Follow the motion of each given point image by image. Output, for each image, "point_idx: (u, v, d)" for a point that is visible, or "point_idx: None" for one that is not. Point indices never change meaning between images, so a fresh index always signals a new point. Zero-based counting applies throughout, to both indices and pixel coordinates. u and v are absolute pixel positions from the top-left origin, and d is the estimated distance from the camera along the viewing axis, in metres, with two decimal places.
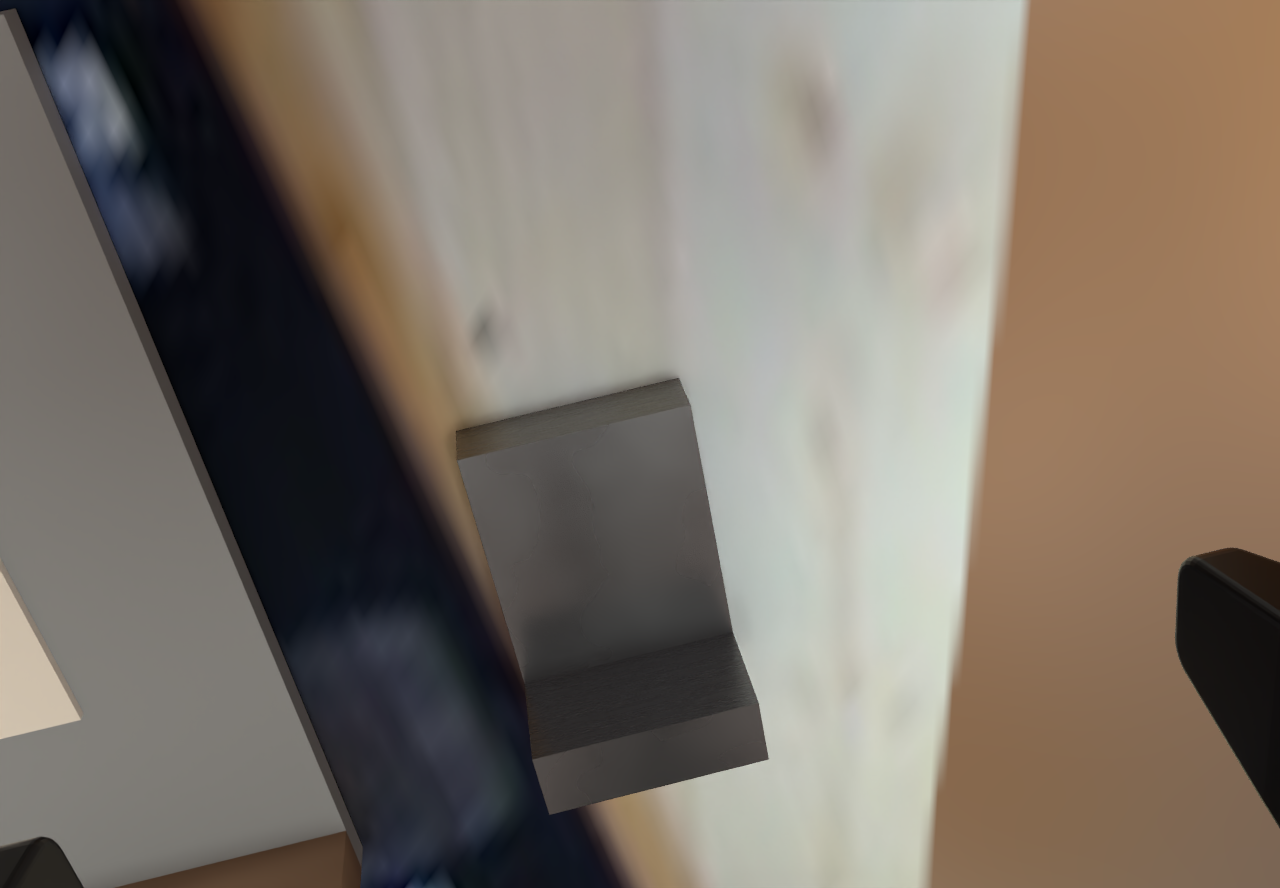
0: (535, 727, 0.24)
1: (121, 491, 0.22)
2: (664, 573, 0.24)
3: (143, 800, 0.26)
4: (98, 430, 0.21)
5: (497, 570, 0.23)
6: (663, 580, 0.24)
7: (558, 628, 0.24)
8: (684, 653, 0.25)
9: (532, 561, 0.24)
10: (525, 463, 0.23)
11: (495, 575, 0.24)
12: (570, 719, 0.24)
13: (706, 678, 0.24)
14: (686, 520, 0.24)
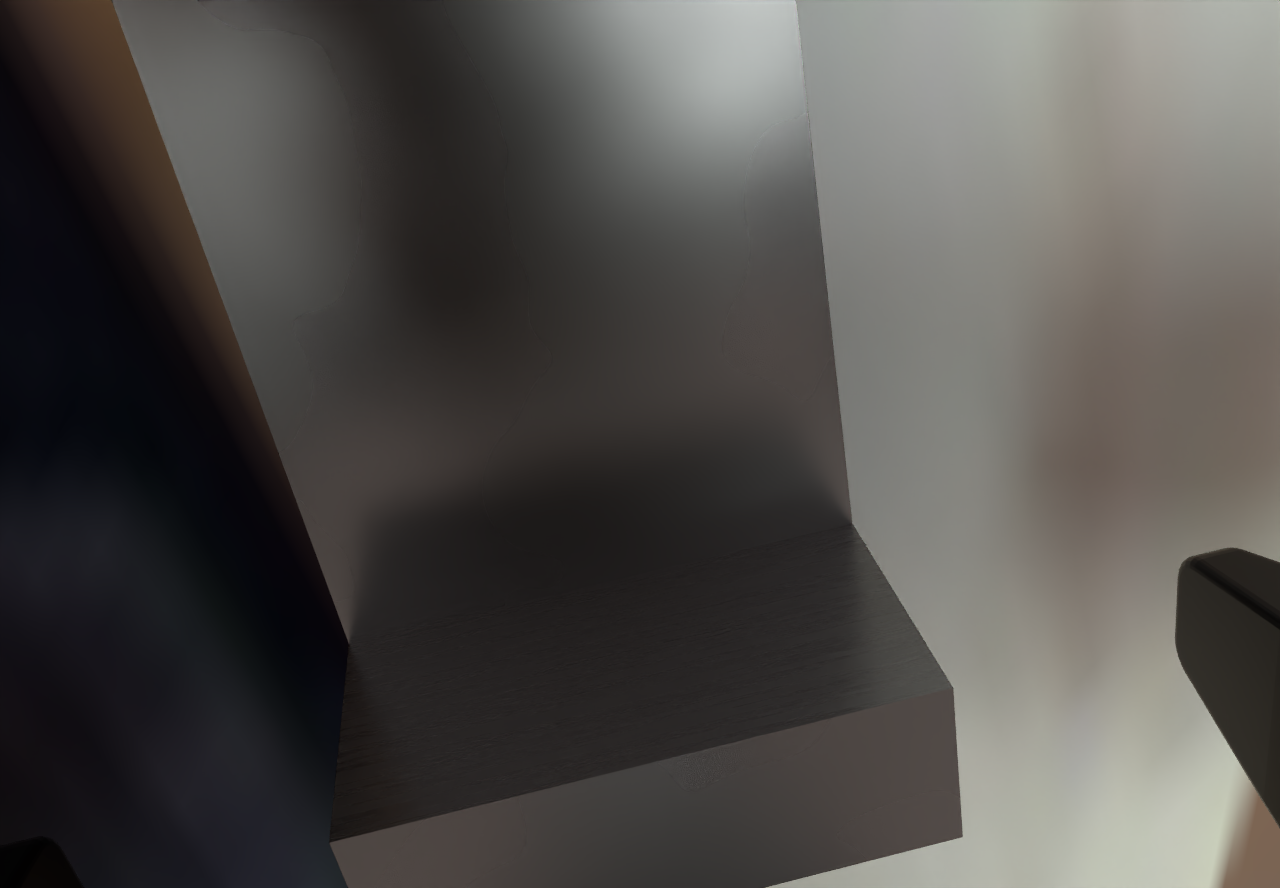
0: (354, 752, 0.09)
1: None
2: (692, 360, 0.10)
3: None
4: None
5: (253, 333, 0.09)
6: (690, 380, 0.10)
7: (426, 503, 0.10)
8: (738, 571, 0.10)
9: (347, 310, 0.09)
10: None
11: (249, 349, 0.09)
12: (446, 731, 0.09)
13: (800, 629, 0.09)
14: (753, 210, 0.09)
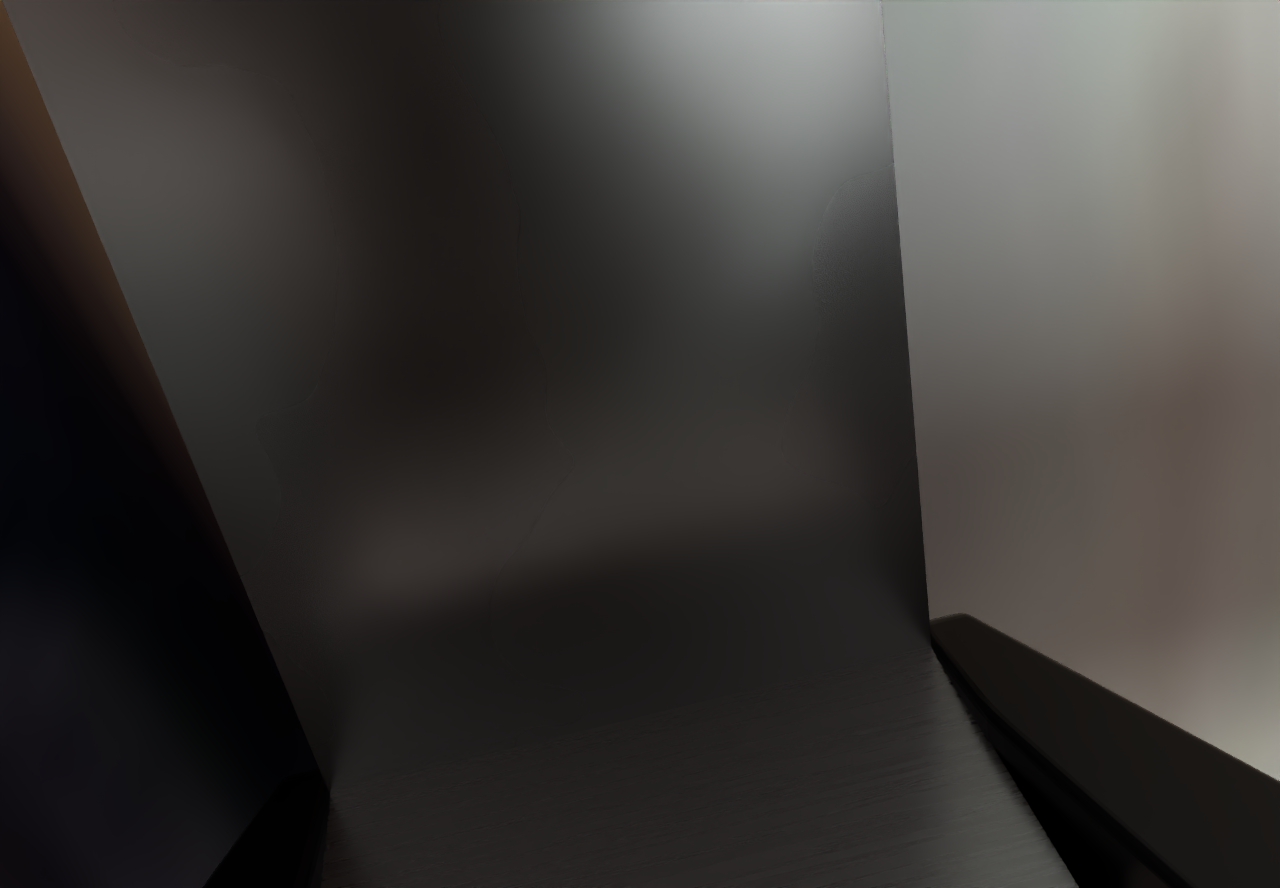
0: None
1: None
2: (745, 460, 0.08)
3: None
4: None
5: (205, 437, 0.07)
6: (742, 485, 0.08)
7: (421, 631, 0.08)
8: (797, 707, 0.08)
9: (322, 409, 0.07)
10: (267, 23, 0.06)
11: (203, 455, 0.07)
12: None
13: (878, 793, 0.08)
14: (823, 282, 0.07)
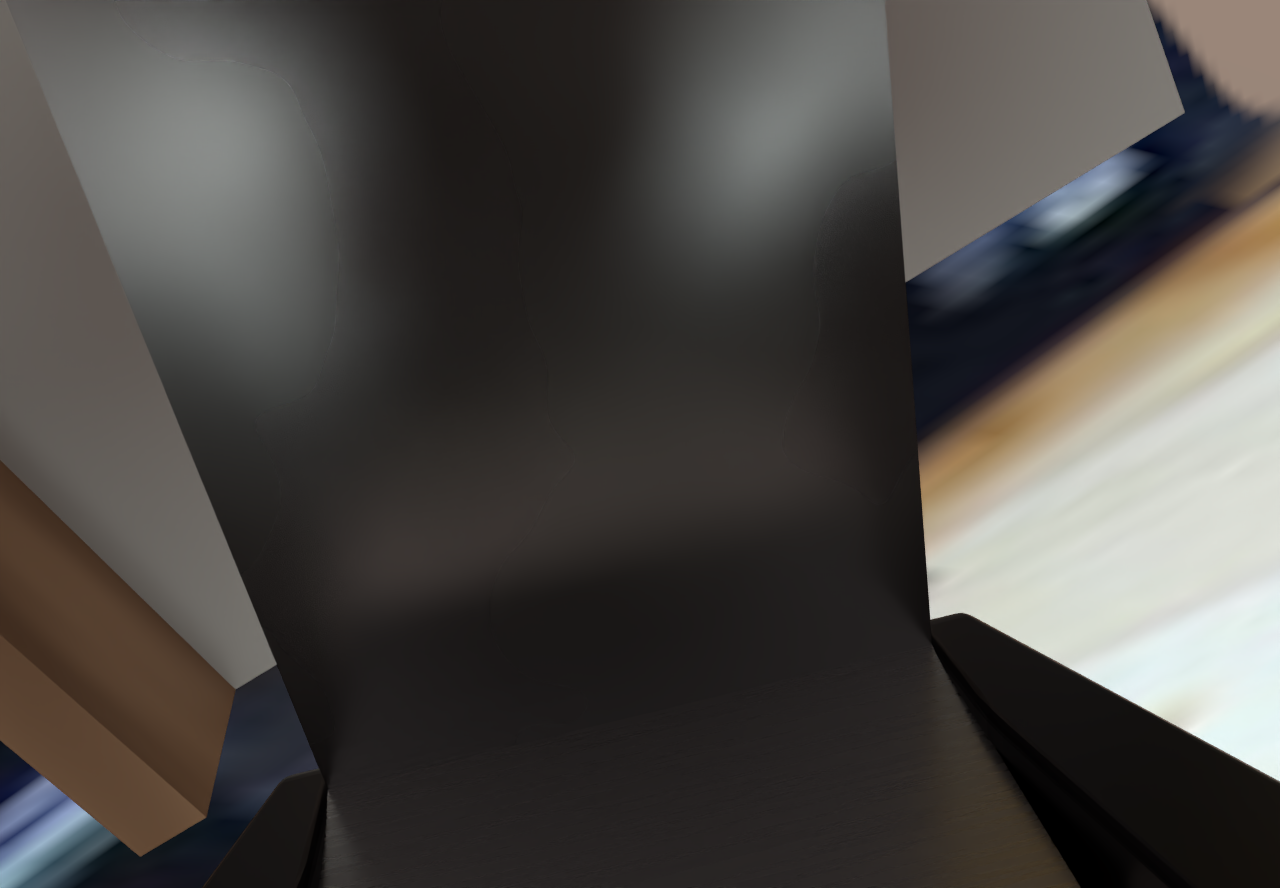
0: None
1: None
2: (745, 459, 0.08)
3: (192, 459, 0.18)
4: None
5: (205, 433, 0.07)
6: (743, 483, 0.08)
7: (421, 628, 0.08)
8: (798, 706, 0.08)
9: (321, 404, 0.07)
10: (268, 18, 0.06)
11: (202, 450, 0.07)
12: None
13: (879, 791, 0.08)
14: (825, 280, 0.07)
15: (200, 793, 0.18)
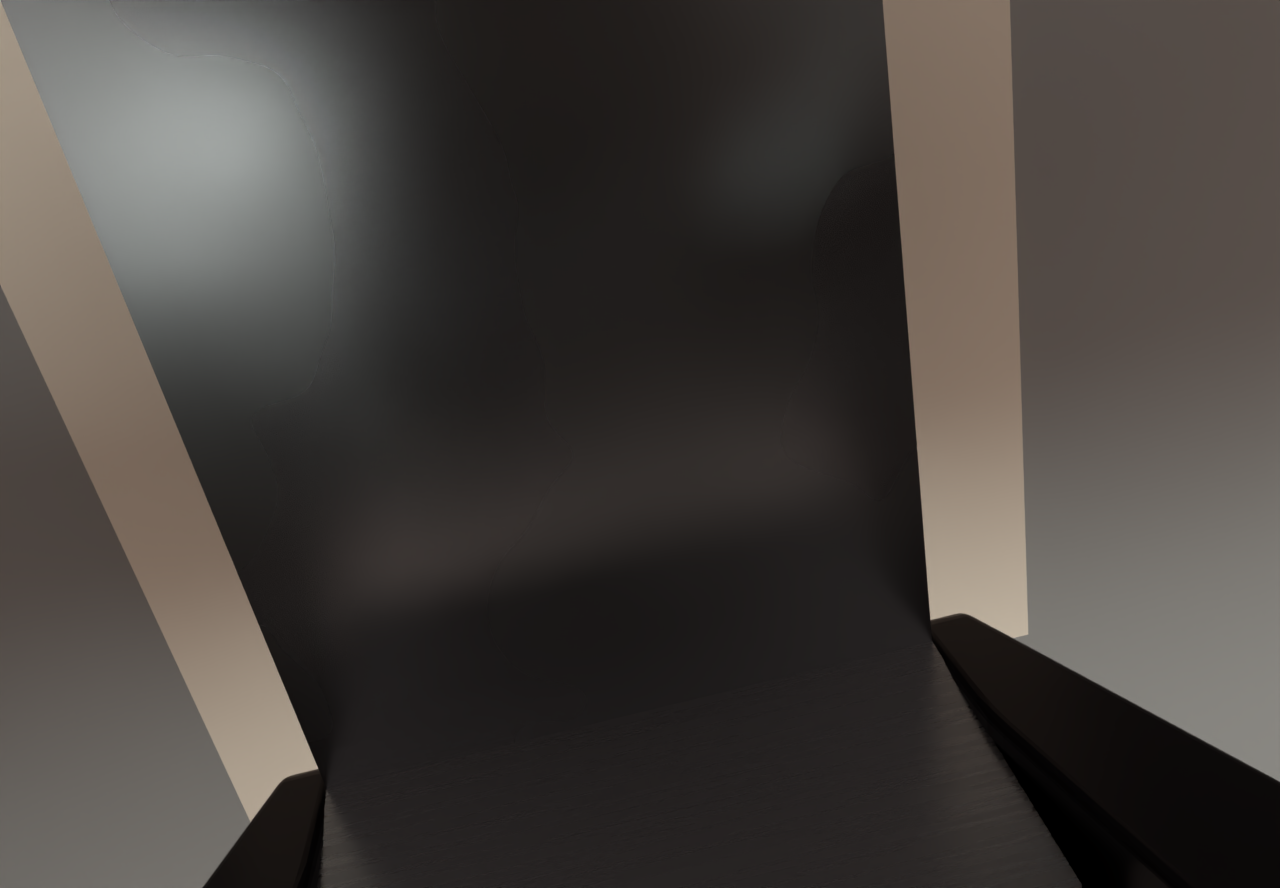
0: None
1: None
2: (744, 454, 0.08)
3: (34, 882, 0.13)
4: None
5: (201, 430, 0.07)
6: (741, 479, 0.08)
7: (419, 626, 0.08)
8: (797, 703, 0.08)
9: (319, 400, 0.07)
10: (264, 12, 0.06)
11: (198, 448, 0.07)
12: None
13: (880, 787, 0.08)
14: (823, 275, 0.07)
15: None
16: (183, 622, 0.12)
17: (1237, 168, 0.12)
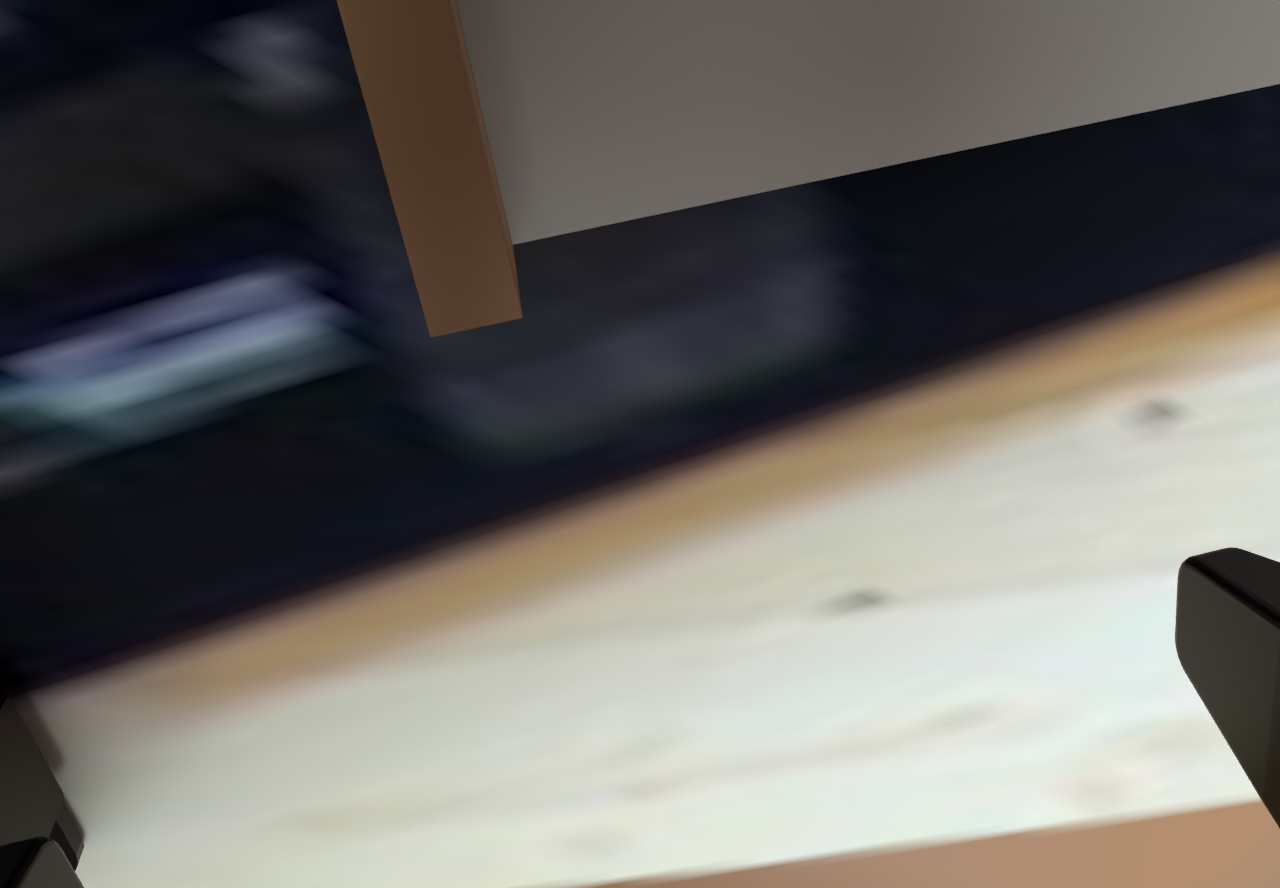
0: None
1: (1122, 23, 0.18)
2: None
3: None
4: (1205, 11, 0.18)
5: None
6: None
7: None
8: None
9: None
10: None
11: None
12: None
13: None
14: None
15: (517, 294, 0.15)
16: None
17: None
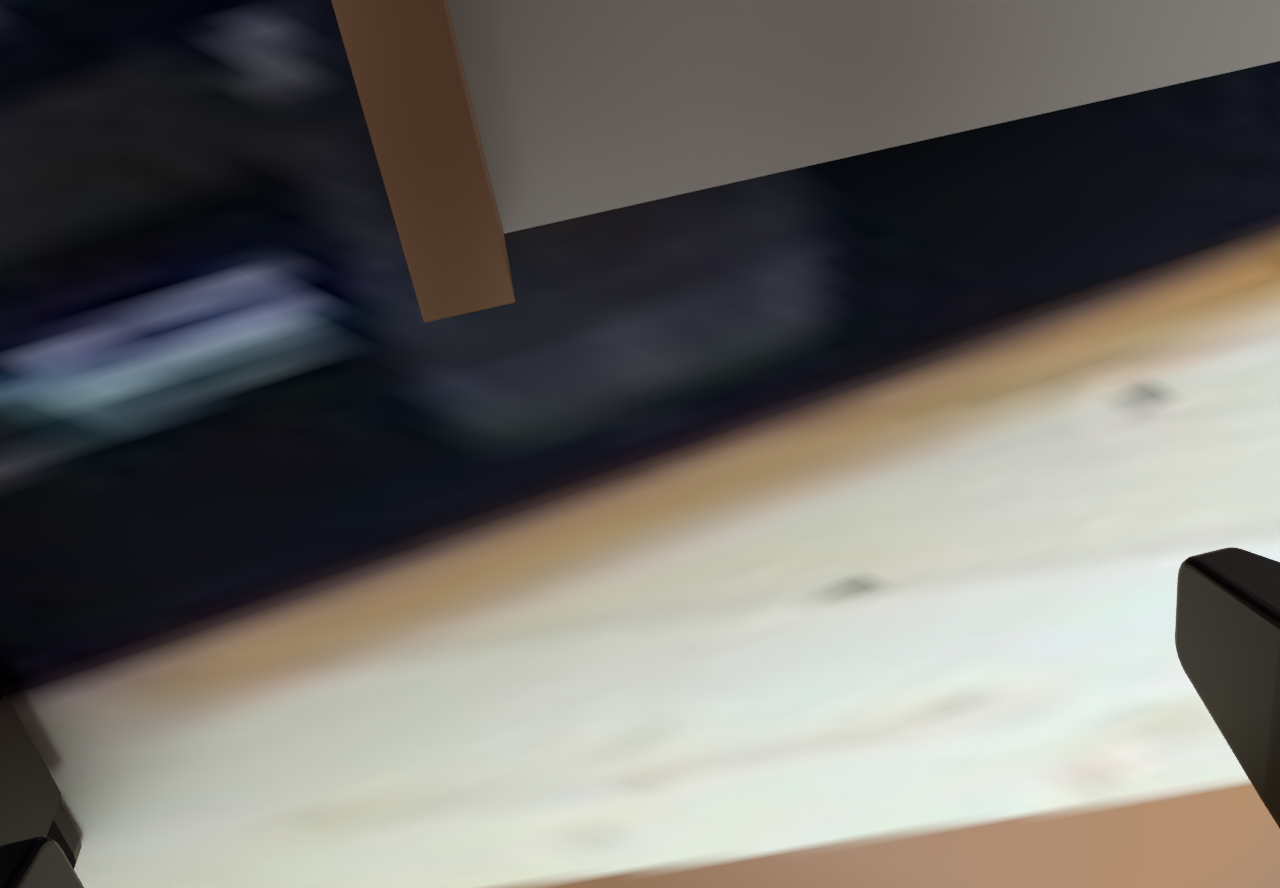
0: None
1: (1103, 6, 0.18)
2: None
3: None
4: None
5: None
6: None
7: None
8: None
9: None
10: None
11: None
12: None
13: None
14: None
15: (510, 279, 0.16)
16: None
17: None
